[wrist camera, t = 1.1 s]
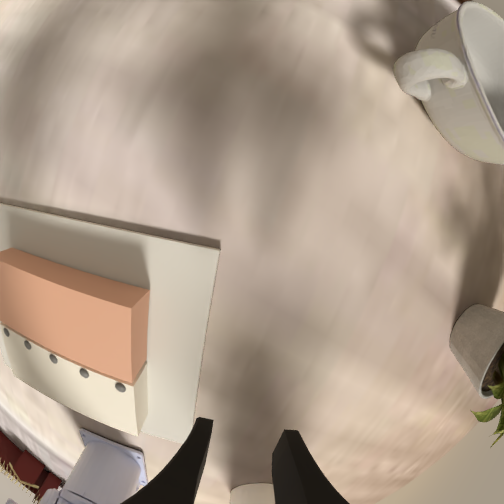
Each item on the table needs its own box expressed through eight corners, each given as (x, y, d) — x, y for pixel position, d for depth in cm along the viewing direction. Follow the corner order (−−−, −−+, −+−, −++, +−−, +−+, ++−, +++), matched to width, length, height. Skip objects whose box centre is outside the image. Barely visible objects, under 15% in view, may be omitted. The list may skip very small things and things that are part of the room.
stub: (146, 359, 18) (132, 383, 15) (17, 306, 17) (-3, 318, 14) (150, 290, 17) (131, 308, 14) (12, 247, 16) (-12, 255, 13)
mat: (191, 442, 21) (190, 445, 20) (7, 362, 20) (4, 364, 19) (220, 249, 17) (219, 250, 16) (-13, 199, 16) (-17, 200, 15)
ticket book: (148, 413, 19) (137, 437, 16) (29, 361, 19) (13, 375, 16) (147, 362, 18) (133, 387, 15) (19, 310, 18) (-2, 323, 15)
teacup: (478, 64, 13) (532, 41, 5) (497, 176, 15) (565, 181, 7) (344, 21, 13) (383, -45, 5) (364, 158, 15) (440, 139, 8)
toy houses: (135, 518, 29) (125, 552, 19) (107, 522, 32) (98, 547, 23) (-38, 377, 23) (-64, 400, 13) (-31, 412, 27) (-49, 431, 17)
